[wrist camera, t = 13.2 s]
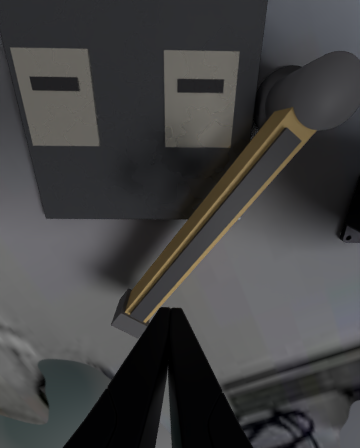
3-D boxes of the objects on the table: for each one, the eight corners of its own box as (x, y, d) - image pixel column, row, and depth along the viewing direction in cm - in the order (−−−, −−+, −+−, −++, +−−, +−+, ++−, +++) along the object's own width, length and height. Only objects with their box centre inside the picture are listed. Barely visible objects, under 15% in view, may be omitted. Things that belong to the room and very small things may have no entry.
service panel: (355, -67, 13) (367, -81, 12) (291, 217, 20) (296, 221, 19) (-19, -76, 12) (-34, -92, 12) (49, 215, 19) (43, 219, 19)
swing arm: (292, 61, 14) (336, 32, 10) (326, 97, 15) (380, 84, 11) (118, 287, 21) (105, 323, 17) (149, 304, 22) (142, 341, 18)
